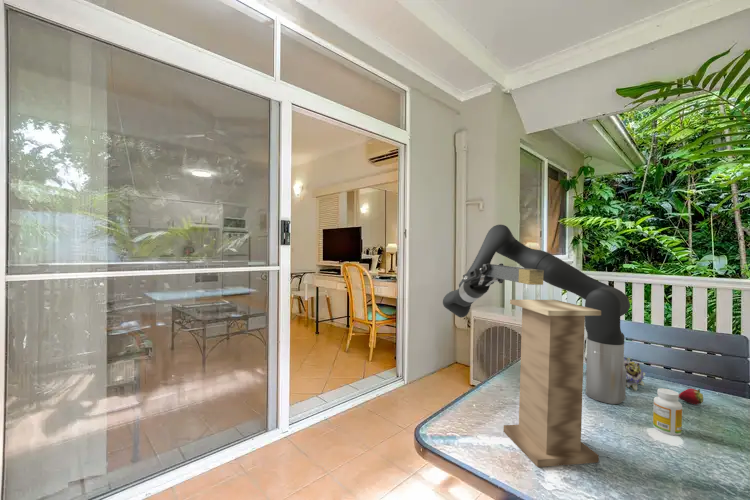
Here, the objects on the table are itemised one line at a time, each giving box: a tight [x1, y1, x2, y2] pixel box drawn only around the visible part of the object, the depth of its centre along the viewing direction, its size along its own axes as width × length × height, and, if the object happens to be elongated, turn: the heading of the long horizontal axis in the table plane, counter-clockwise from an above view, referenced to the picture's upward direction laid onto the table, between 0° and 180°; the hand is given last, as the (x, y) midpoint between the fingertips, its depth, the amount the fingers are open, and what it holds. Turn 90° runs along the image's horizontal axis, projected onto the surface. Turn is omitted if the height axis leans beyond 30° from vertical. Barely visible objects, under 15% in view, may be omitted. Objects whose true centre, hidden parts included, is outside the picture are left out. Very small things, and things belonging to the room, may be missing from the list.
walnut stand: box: [503, 299, 601, 468], centre depth 74 cm, size 14×14×32 cm
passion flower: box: [624, 357, 646, 392], centre depth 110 cm, size 11×11×12 cm
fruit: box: [678, 388, 704, 406], centre depth 98 cm, size 4×6×5 cm
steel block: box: [483, 263, 544, 286], centre depth 92 cm, size 4×24×4 cm, turn 9°
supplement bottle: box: [652, 387, 683, 436], centre depth 82 cm, size 5×5×10 cm
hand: (496, 266), depth 99 cm, fingers closed on steel block, 3 cm apart
